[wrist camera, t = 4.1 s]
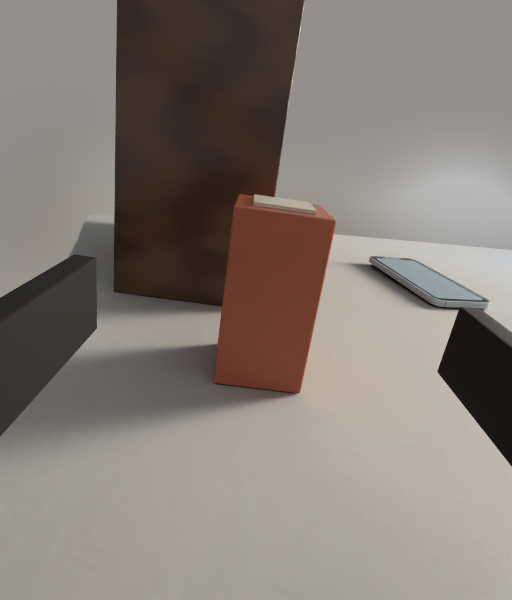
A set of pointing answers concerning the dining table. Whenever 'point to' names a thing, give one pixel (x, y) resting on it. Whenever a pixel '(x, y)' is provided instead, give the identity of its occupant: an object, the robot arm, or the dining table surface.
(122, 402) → the dining table surface
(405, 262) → the smartphone
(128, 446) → the dining table surface
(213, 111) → the stand
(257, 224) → the orange block
